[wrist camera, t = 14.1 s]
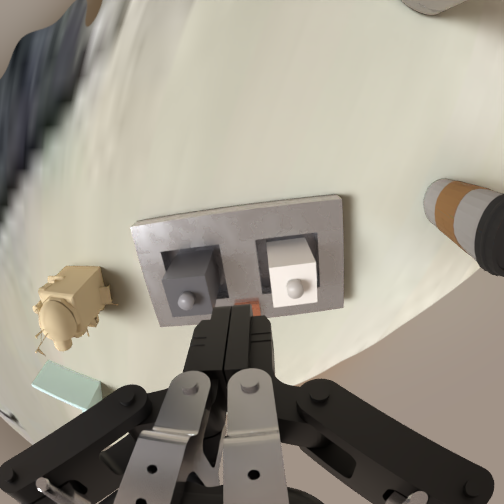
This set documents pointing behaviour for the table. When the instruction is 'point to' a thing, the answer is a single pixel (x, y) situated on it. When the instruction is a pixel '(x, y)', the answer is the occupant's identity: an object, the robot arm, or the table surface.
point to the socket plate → (246, 252)
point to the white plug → (292, 272)
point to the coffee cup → (469, 220)
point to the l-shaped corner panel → (68, 386)
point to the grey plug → (192, 283)
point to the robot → (71, 304)
